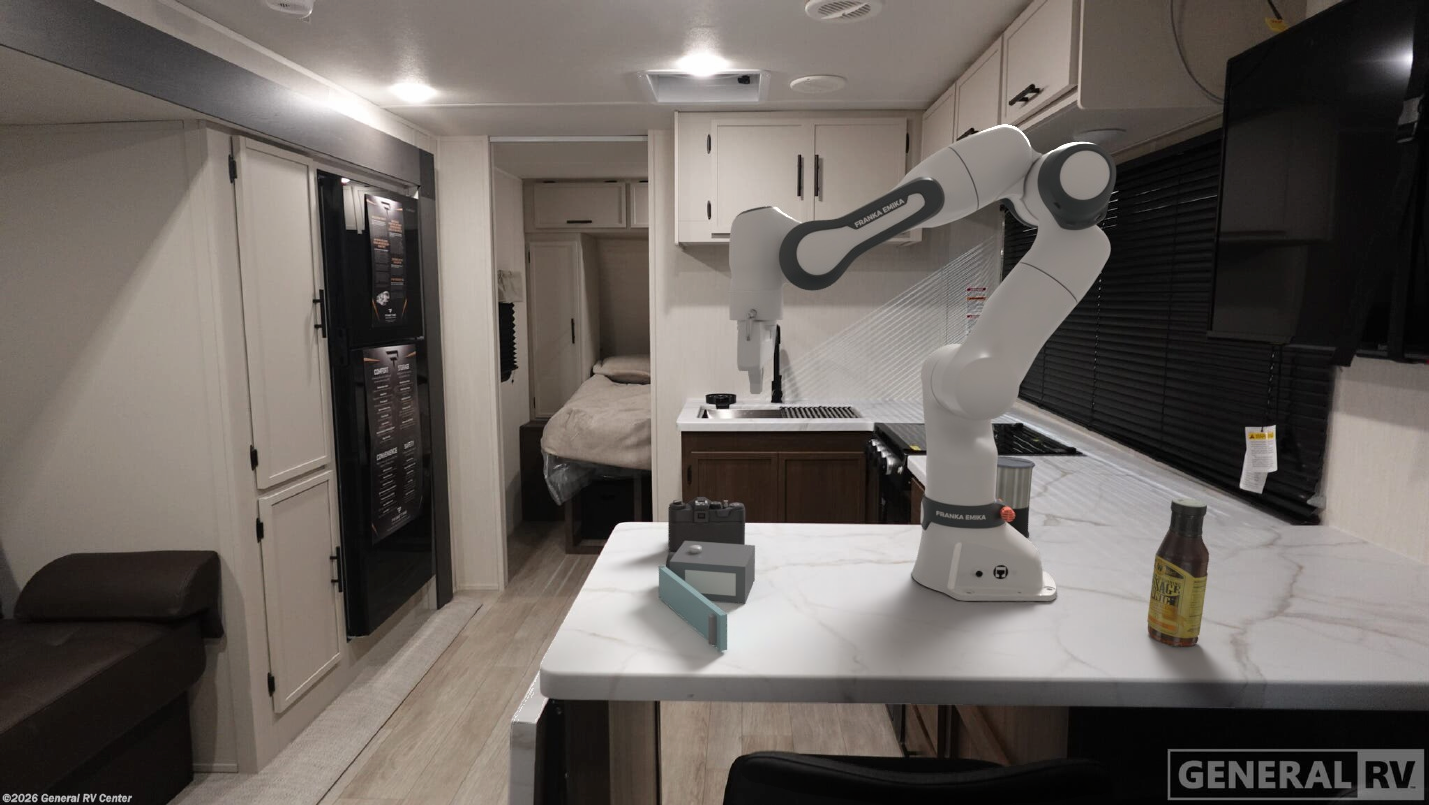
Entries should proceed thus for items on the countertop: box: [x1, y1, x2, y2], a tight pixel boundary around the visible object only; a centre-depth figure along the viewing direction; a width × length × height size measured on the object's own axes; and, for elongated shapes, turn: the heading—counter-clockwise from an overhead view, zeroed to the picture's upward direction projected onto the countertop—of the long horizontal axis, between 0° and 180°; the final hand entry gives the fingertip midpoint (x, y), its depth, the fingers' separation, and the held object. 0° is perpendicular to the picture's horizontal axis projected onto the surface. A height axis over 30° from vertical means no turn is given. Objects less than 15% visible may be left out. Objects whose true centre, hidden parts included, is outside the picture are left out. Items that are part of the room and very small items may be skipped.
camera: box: [667, 496, 746, 554], centre depth 141 cm, size 14×11×10 cm
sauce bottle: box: [1146, 497, 1210, 648], centre depth 102 cm, size 7×6×20 cm
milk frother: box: [995, 455, 1036, 538], centre depth 146 cm, size 14×16×15 cm
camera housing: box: [665, 541, 756, 605], centre depth 121 cm, size 13×10×7 cm
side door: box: [658, 564, 728, 652], centre depth 108 cm, size 20×2×5 cm, turn 28°
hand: (756, 393), depth 124 cm, fingers closed
